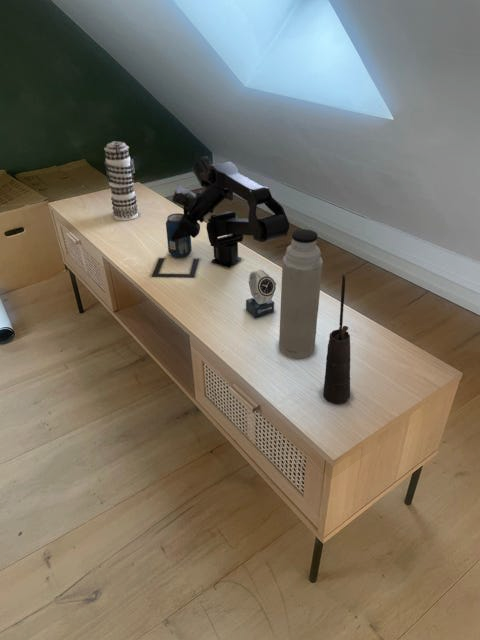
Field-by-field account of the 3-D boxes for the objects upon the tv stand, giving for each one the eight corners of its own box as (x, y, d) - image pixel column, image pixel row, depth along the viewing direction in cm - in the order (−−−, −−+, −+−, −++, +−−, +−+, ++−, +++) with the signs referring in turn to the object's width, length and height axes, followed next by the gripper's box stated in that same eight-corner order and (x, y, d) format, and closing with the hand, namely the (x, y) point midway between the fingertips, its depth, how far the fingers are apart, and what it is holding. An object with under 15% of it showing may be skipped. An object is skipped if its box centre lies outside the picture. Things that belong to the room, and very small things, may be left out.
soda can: (178, 247, 156) (175, 210, 149) (196, 252, 153) (193, 215, 146) (164, 256, 151) (160, 218, 144) (182, 261, 148) (179, 223, 141)
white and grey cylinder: (111, 212, 179) (100, 140, 165) (137, 209, 182) (128, 138, 168) (114, 222, 172) (102, 148, 158) (141, 218, 175) (131, 145, 160)
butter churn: (334, 370, 106) (349, 251, 90) (371, 394, 100) (394, 270, 84) (304, 390, 101) (314, 267, 85) (341, 415, 95) (359, 289, 79)
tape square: (159, 258, 149) (158, 258, 149) (198, 259, 149) (198, 258, 149) (151, 276, 140) (151, 276, 140) (194, 277, 140) (194, 276, 140)
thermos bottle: (271, 349, 112) (275, 234, 96) (292, 333, 117) (298, 221, 102) (301, 363, 108) (310, 246, 92) (321, 346, 113) (333, 231, 97)
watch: (258, 322, 121) (259, 283, 115) (242, 306, 127) (242, 268, 121) (278, 316, 123) (279, 277, 117) (261, 301, 129) (262, 263, 123)
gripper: (192, 168, 146) (158, 203, 153) (183, 190, 131) (146, 229, 137) (220, 194, 150) (186, 228, 157) (214, 219, 135) (176, 255, 141)
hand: (174, 234), depth 148 cm, fingers closed on soda can, 7 cm apart
